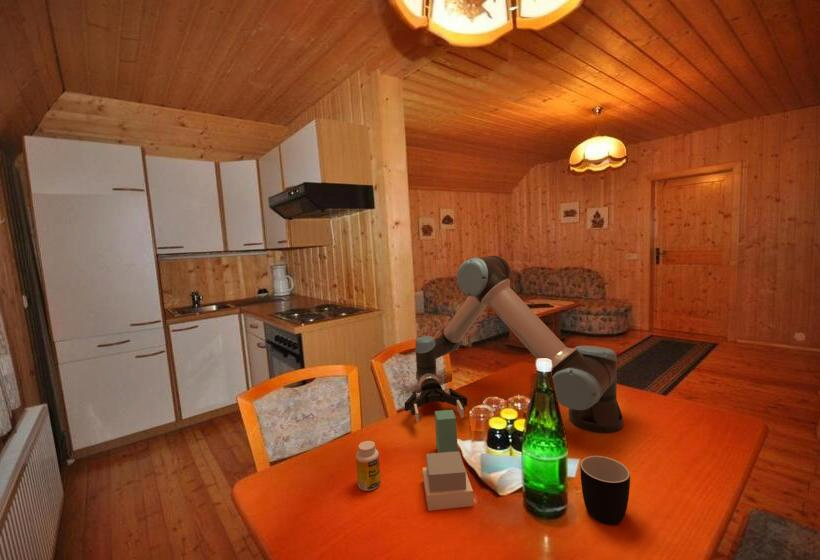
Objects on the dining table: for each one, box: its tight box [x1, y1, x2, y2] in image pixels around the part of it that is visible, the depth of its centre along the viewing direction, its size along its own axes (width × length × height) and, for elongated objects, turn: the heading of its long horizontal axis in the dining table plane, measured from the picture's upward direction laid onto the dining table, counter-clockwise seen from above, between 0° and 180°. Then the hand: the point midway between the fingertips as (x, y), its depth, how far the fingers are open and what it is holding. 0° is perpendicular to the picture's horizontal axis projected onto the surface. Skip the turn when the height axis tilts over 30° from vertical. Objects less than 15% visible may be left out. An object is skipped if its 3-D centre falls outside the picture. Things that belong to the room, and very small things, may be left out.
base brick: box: [422, 466, 474, 512], centre depth 85 cm, size 10×10×4 cm
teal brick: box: [434, 409, 459, 453], centre depth 101 cm, size 5×5×11 cm
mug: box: [579, 455, 631, 526], centre depth 77 cm, size 12×9×10 cm
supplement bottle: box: [355, 440, 381, 492], centre depth 89 cm, size 6×6×10 cm
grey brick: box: [425, 450, 467, 492], centre depth 85 cm, size 8×8×4 cm
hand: (440, 415), depth 110 cm, fingers open, 13 cm apart
